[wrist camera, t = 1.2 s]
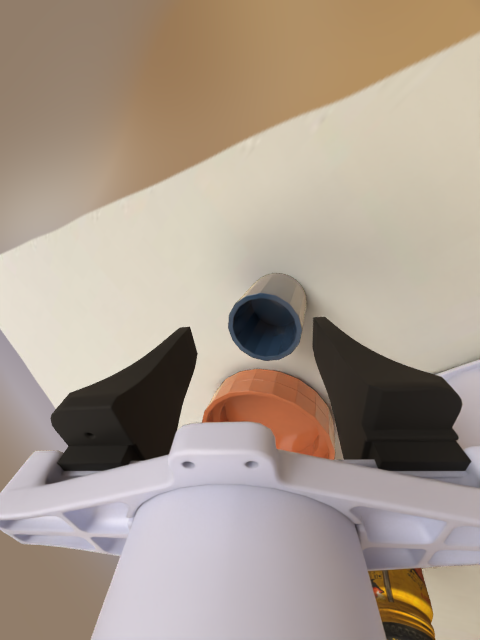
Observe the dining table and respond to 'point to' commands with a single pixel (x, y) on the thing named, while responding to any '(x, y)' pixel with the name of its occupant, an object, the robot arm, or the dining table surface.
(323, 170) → the dining table surface
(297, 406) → the clay bowl
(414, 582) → the condiment
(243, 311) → the cup
